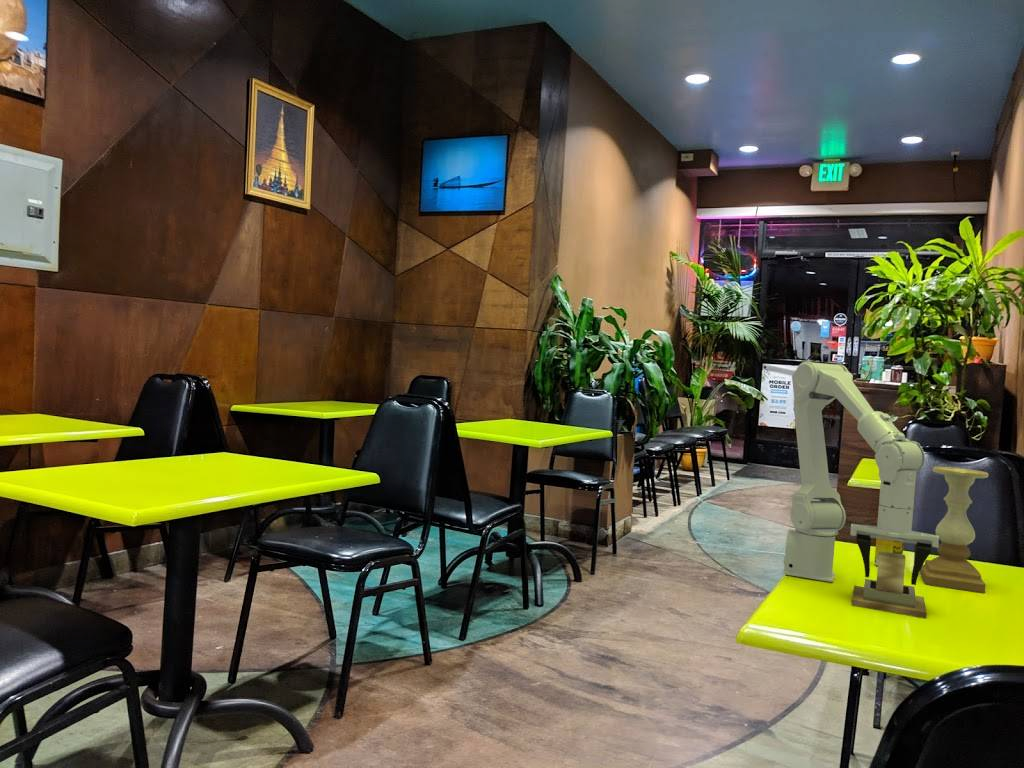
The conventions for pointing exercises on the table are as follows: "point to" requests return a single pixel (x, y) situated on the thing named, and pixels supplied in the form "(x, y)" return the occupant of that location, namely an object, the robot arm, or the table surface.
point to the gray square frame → (889, 595)
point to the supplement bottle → (888, 547)
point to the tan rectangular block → (890, 572)
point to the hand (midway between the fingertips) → (890, 579)
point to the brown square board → (917, 611)
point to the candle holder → (955, 536)
